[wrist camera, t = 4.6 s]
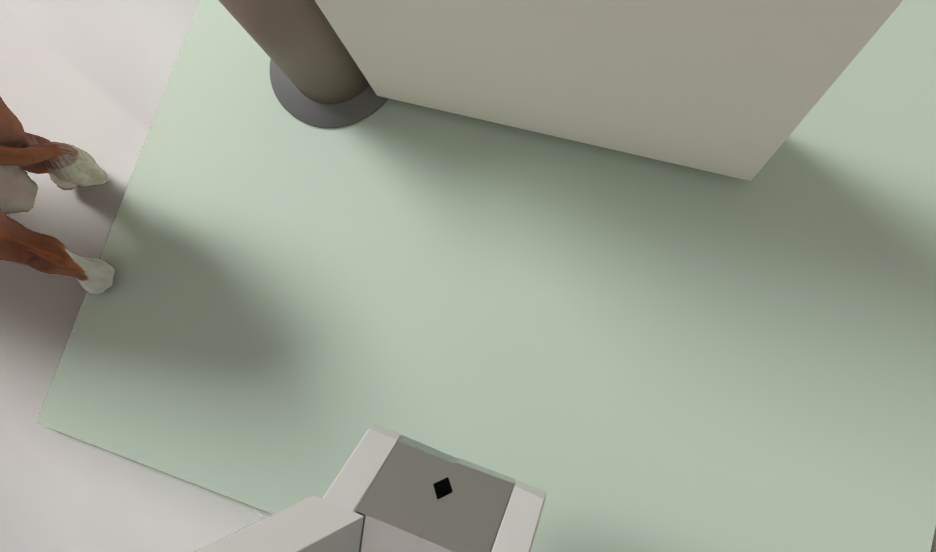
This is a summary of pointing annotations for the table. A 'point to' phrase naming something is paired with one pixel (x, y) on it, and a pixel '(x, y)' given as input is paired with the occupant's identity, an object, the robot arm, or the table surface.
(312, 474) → the mat
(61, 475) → the table surface
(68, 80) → the table surface
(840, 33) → the white rectangular slab
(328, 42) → the fixed rail
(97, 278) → the bull figurine
